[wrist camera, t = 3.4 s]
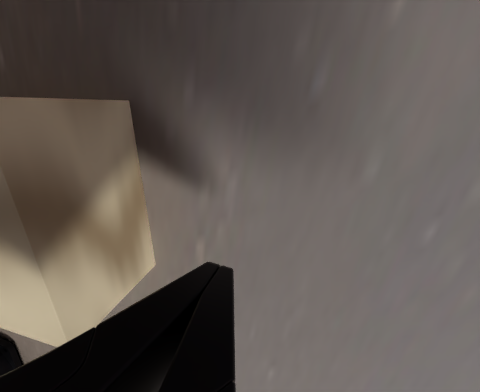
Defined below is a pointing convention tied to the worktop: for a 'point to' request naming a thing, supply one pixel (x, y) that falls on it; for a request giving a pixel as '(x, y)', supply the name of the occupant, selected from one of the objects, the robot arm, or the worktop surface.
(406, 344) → the worktop surface
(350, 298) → the worktop surface
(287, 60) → the worktop surface
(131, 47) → the worktop surface
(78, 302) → the maple block
